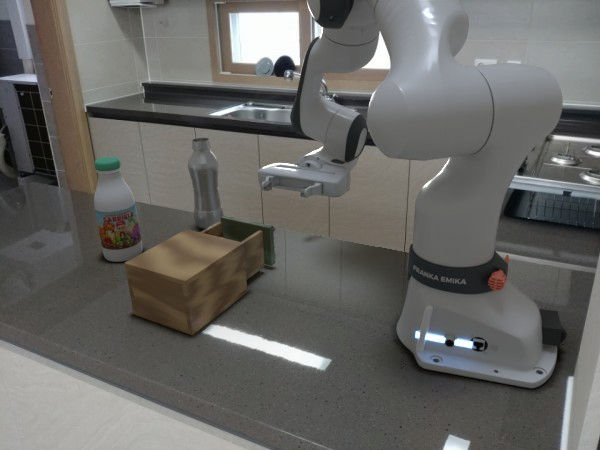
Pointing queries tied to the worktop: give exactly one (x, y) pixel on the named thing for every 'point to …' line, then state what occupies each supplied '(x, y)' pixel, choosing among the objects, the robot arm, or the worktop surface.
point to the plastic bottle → (205, 184)
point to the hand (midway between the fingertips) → (283, 190)
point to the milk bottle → (116, 213)
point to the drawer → (248, 240)
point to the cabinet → (187, 280)
